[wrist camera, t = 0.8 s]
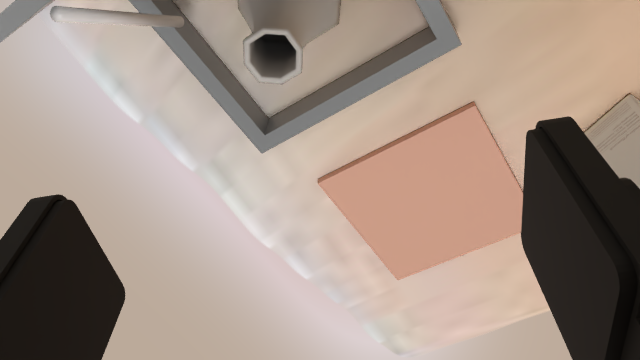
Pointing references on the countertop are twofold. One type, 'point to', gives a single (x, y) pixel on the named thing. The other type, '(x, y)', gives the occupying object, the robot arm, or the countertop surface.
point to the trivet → (430, 194)
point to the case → (224, 86)
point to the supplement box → (620, 138)
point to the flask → (283, 34)
